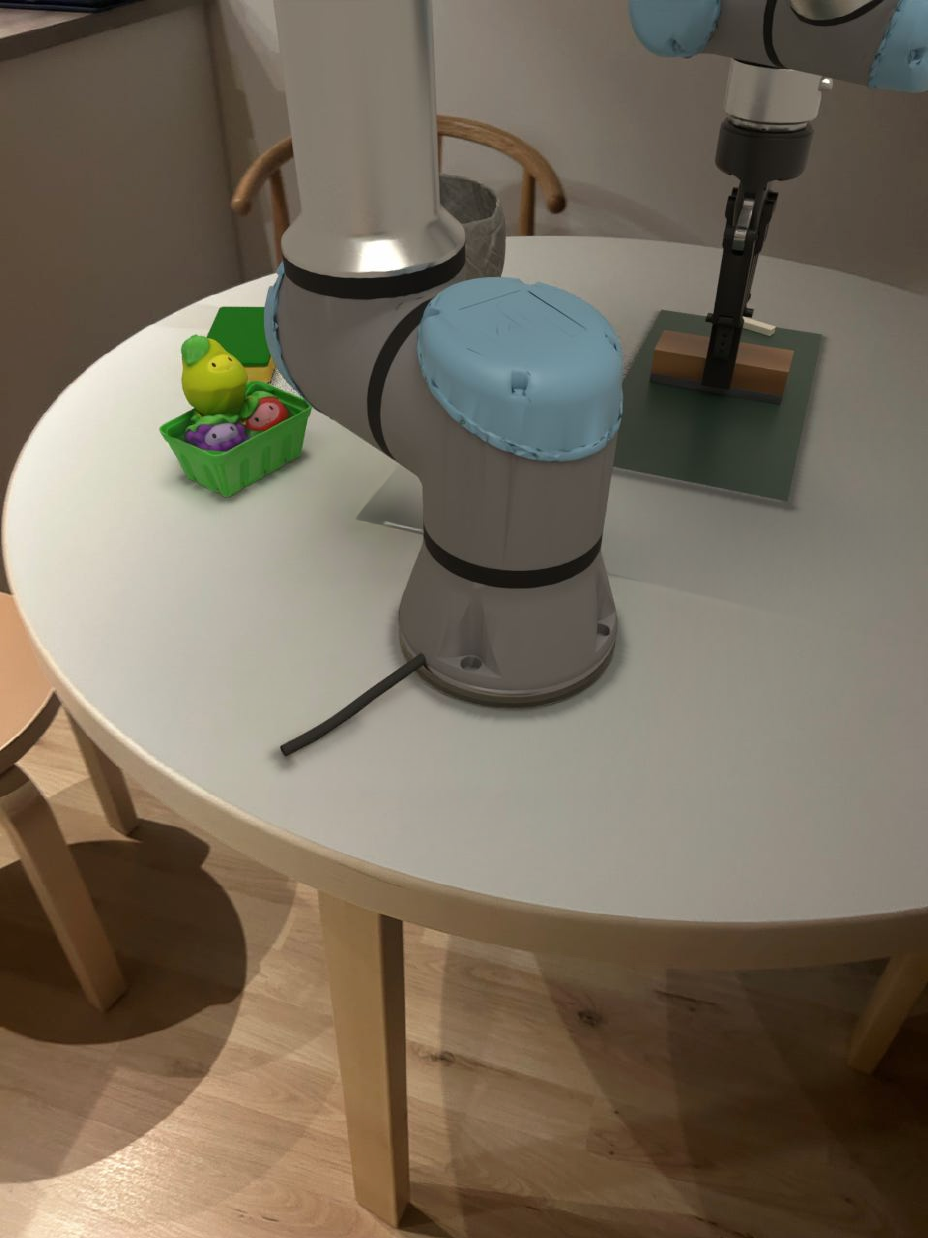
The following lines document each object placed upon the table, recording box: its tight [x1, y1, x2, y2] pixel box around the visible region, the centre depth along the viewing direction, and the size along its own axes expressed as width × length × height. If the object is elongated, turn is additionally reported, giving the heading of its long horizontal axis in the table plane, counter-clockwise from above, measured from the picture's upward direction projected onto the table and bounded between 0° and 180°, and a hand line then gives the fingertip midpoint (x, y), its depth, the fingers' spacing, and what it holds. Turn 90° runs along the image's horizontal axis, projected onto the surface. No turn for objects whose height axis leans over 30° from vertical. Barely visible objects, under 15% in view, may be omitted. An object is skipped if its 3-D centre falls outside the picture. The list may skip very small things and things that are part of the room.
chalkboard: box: [613, 309, 823, 502], centre depth 96 cm, size 36×18×1 cm, turn 160°
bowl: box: [439, 172, 507, 280], centre depth 101 cm, size 20×20×15 cm
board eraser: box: [650, 330, 794, 405], centre depth 96 cm, size 5×13×4 cm, turn 69°
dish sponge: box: [206, 306, 276, 384], centre depth 101 cm, size 7×14×2 cm, turn 1°
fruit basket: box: [158, 333, 313, 498], centre depth 81 cm, size 11×9×11 cm
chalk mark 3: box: [743, 317, 777, 336], centre depth 107 cm, size 5×1×1 cm, turn 50°
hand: (716, 383), depth 94 cm, fingers closed
